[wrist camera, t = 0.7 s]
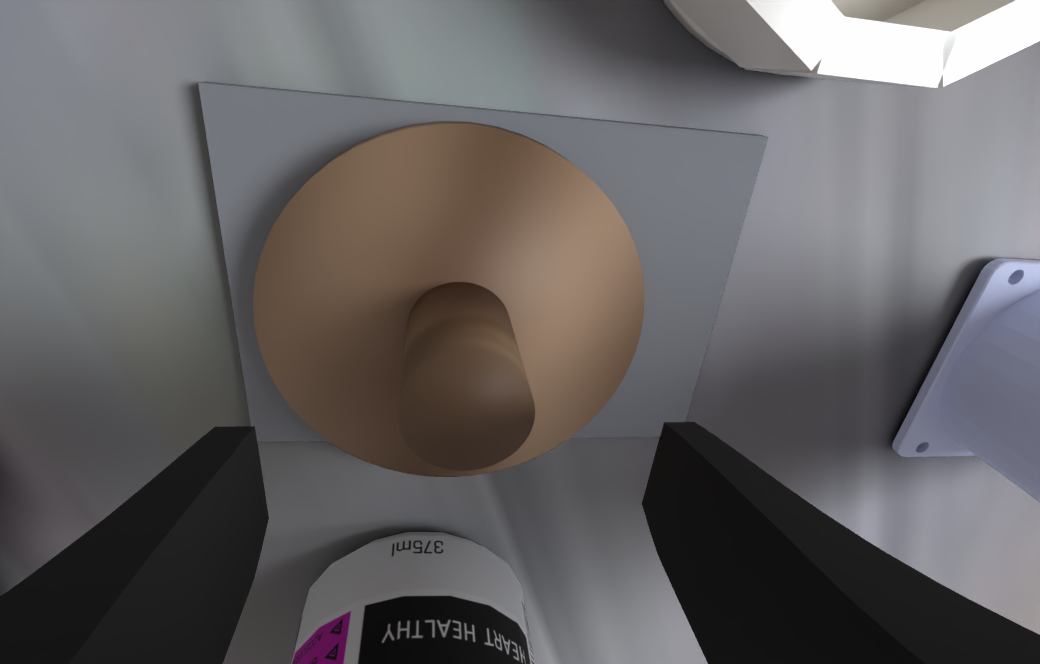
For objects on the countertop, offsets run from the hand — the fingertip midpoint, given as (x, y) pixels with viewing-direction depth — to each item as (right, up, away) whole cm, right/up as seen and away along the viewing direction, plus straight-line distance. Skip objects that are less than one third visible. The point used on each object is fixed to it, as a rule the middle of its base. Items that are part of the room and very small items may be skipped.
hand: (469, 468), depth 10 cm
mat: (0, +4, +6) cm, 7 cm away
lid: (-1, +3, +6) cm, 7 cm away
